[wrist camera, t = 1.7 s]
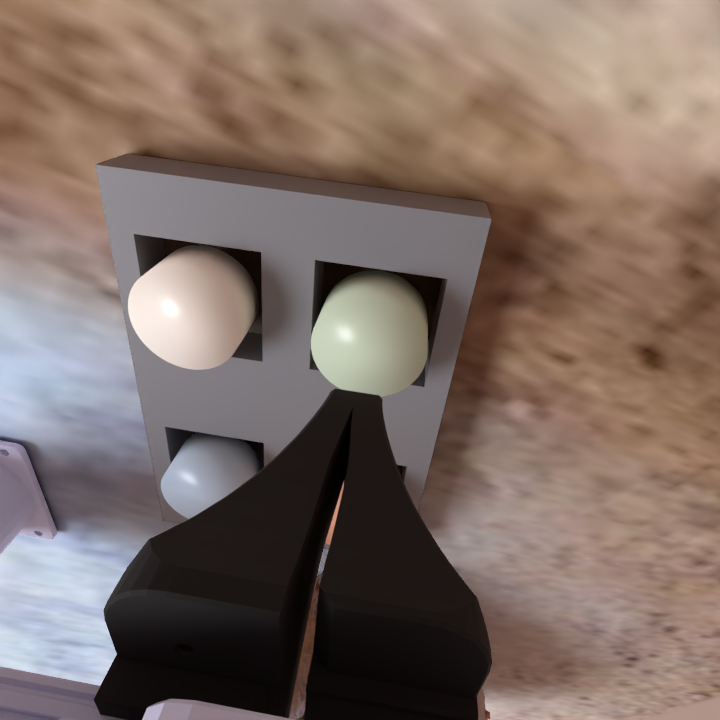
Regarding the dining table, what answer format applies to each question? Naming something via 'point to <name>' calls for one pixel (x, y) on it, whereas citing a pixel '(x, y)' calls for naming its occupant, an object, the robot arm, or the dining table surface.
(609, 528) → the dining table surface
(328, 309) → the sage button
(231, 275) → the cream button
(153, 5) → the dining table surface
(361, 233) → the button panel
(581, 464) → the dining table surface
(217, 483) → the blue button
